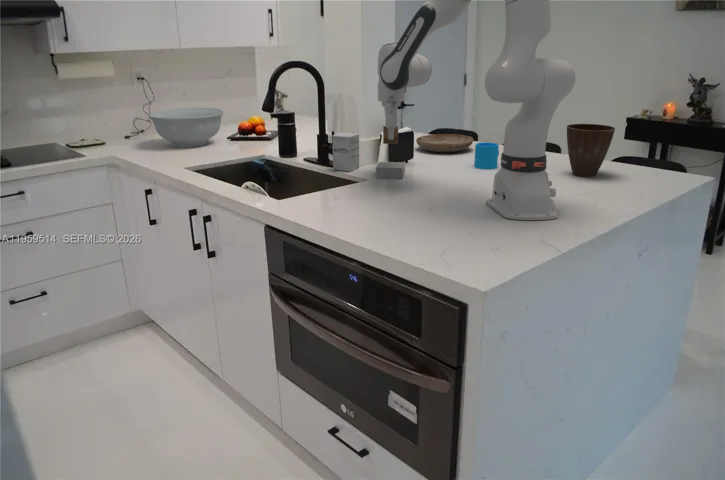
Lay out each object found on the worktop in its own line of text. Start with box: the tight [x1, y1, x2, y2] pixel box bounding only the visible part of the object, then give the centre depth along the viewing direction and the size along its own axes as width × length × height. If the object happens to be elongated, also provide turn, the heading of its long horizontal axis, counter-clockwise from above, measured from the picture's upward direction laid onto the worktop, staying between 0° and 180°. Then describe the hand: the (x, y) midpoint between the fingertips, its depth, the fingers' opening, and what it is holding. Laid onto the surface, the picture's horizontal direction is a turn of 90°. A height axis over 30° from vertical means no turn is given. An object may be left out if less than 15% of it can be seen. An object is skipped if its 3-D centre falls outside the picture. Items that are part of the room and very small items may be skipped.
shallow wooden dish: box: [415, 133, 474, 153], centre depth 230 cm, size 23×24×5 cm
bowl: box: [148, 107, 225, 149], centre depth 248 cm, size 32×32×15 cm
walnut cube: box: [382, 125, 399, 145], centre depth 185 cm, size 5×5×5 cm
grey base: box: [375, 161, 406, 180], centre depth 189 cm, size 9×9×4 cm
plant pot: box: [566, 123, 616, 178], centre depth 184 cm, size 15×15×16 cm
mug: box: [473, 141, 500, 170], centre depth 199 cm, size 12×8×8 cm
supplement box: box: [332, 132, 360, 173], centre depth 197 cm, size 7×7×13 cm
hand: (390, 137), depth 185 cm, fingers closed on walnut cube, 5 cm apart
